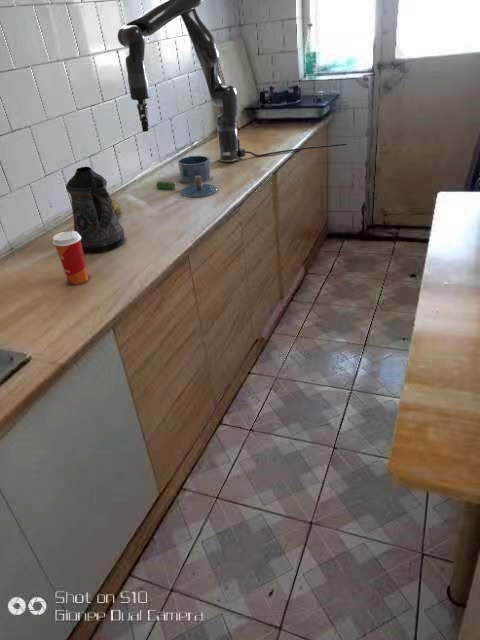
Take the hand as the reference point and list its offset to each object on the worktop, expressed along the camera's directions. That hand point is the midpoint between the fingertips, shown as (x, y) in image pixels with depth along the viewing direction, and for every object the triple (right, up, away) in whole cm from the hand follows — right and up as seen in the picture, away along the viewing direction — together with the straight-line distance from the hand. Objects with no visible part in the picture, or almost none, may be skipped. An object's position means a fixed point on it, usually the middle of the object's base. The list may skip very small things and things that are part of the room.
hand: (145, 129), depth 195 cm
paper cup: (-8, -67, -56) cm, 88 cm away
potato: (-10, -39, -15) cm, 43 cm away
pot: (+19, -16, +16) cm, 29 cm away
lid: (+22, -25, +1) cm, 33 cm away
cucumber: (+7, -23, +7) cm, 25 cm away
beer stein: (-7, -53, -36) cm, 64 cm away
